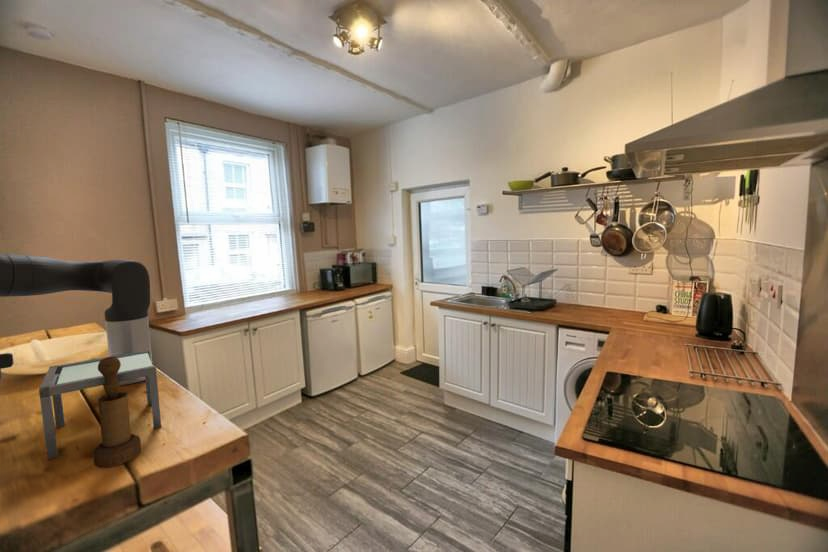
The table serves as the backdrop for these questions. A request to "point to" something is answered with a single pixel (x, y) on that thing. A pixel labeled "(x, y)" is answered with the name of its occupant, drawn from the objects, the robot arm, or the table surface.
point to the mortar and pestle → (114, 421)
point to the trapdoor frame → (55, 390)
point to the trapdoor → (92, 370)
